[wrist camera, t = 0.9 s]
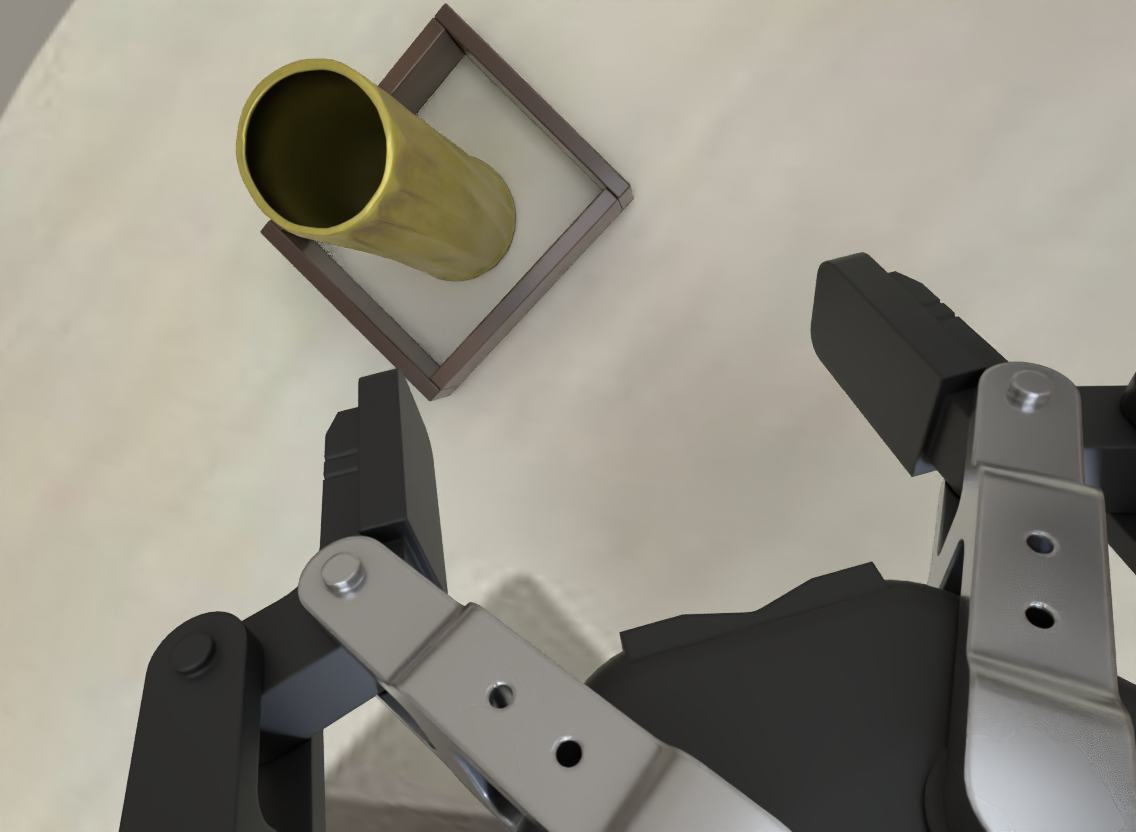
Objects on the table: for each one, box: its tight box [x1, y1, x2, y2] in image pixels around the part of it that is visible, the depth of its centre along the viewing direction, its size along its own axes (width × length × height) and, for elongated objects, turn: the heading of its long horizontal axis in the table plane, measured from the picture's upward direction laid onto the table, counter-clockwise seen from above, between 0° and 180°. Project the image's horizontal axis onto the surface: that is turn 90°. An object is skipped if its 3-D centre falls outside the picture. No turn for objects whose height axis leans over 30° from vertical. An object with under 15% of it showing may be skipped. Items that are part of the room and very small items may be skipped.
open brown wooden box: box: [261, 4, 634, 401], centre depth 34 cm, size 14×12×3 cm
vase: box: [236, 59, 515, 281], centre depth 28 cm, size 6×6×14 cm
